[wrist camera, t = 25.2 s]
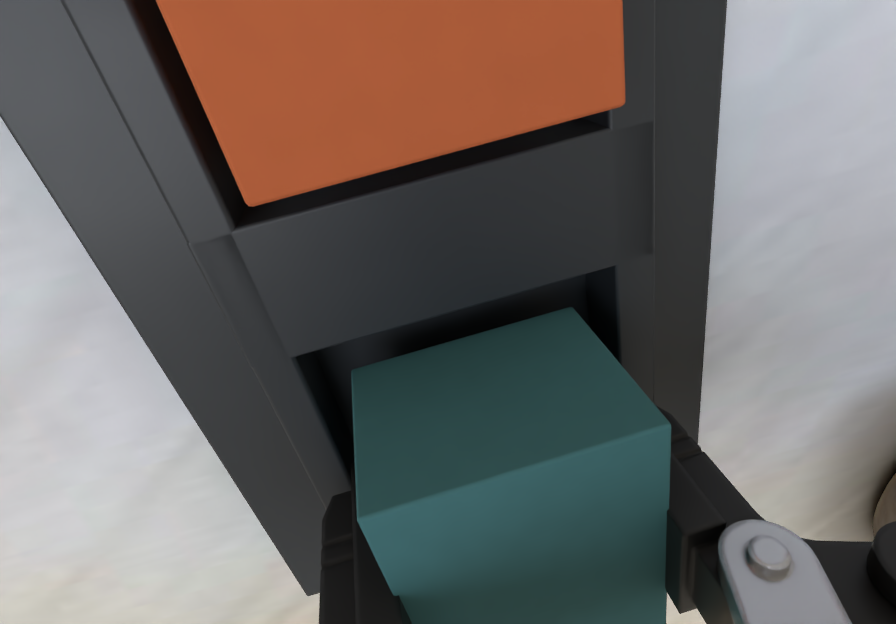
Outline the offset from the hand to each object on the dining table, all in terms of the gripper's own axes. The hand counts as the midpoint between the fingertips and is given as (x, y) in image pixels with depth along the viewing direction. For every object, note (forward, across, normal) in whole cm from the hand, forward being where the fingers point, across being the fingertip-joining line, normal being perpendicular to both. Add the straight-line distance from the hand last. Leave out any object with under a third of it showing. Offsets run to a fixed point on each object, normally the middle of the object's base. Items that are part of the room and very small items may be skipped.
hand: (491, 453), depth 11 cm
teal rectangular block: (0, 0, 0) cm, 0 cm away
